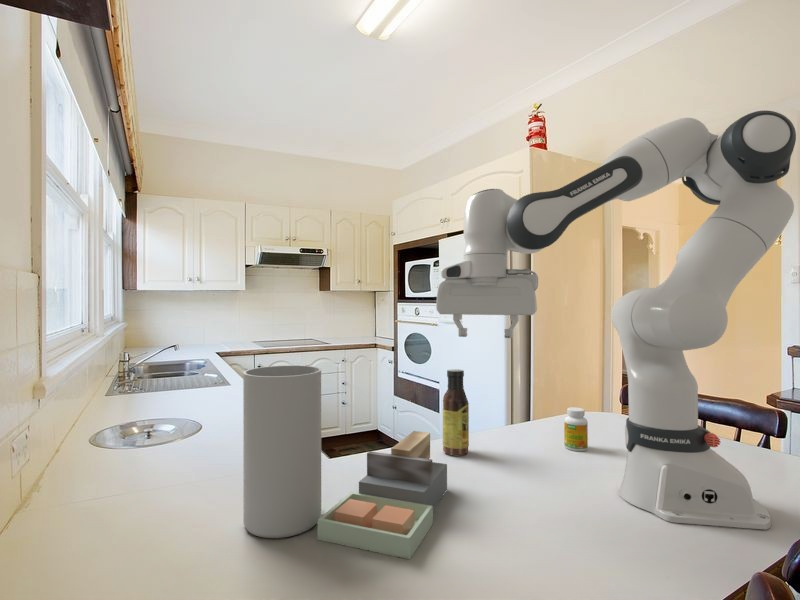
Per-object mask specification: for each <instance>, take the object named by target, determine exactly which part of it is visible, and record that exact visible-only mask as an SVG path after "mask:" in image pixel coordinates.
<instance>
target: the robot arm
mask: <svg viewBox="0 0 800 600" xmlns="http://www.w3.org/2000/svg"><path fill="white" fill-rule="evenodd" d="M796 142H797V131H796V128H795V125H794V124H793V122H792V121H791V120H790V119H789V118H788V117H787V116H786V115H784V114H782V113H780V112H777V111H773V110H758V111H753V112H750V113H747V114H746V115H744V116H742V117H740V118H738V119H737V120H734V122H732V123H731V124H730V125H729V126H728V127H727V128H726V129H725V130H724V132H723V133H722V134H721V135H720V136H719V135H718V134H713V133H711V132H710V131H709V129H708V127H707V126H706V125H705V124H704V123H703V122H702V121H700V120H698V119H696V118H693V117H682V118H679V119H675V120H673V121H670V122H667V123H665V124H661V125H660V126H657V127H655V128H653V129H651V130H649V131H647V132H645V133H643V134H641V135H639V136H637V137H635V138H633V139H632V140H630V141H629V142H627V143H625V144H624V145H622V146H621V147H619V148H618V149H617V150H616V151H614V152H613V153H612V154H611V155H610V156H608V157H607V158H606V159H604V161H603V163H601V165H600V166H598V167H597V168H596V169H593V170H592V171H590V172H588V173H586V174H584V175H582V176H581V177H579V178H577V179H575V180H574V181H571V182H570V183H567V184H566V185H564V186H561V187H560V188H558V189H553V190H547V191H538V192H533V193H528V194H526V195H523V196H522V197H519V199H517V198H514V197H512V196H510V195H509V194H507V193H506V192H504V190H502V189H500V188H489V189H487V188H486V189H483V190H481V191H478V192H476V193H473V194H471V196H470V197H469V198H468V199H467V201H466V203H465V207H464V215H463V237H464V240H465V248H464V252H463V261H460V262H458V263H455V264H452V265H449V266H446V267H444V268H442V269H441V270H440V272H441V273H440V274H441V278H442V280H441V281H440V283H439V284H438V287H437V293H436V305H435V306H436V307H435V309H436V311H437V313H439V314H440V315H452V316H453V317H452V320H453V322H454V324H455V325H456V328H457V329H458V337H460V338H465V337H466V338H467V336H468V327H464V326H463V323H462V320H463V315H464V316H465V315H466V316H467V315H468V316H469V315H470V316H471V315H472V316H473V315H474V316H476V315H477V316H478V315H479V316H480V315H483V316H510V317H509V318H510V319H509V320H510V321H511V324H510V325H509V328H504V338H505V339H513V338H514V329H515V327H516V326H517V325H518V322H519V321H520V320H519V319H520V317H519V316H534V315H535V314H536V313H537V309H538V307H537V306H538V305H537V302H538V301H537V295H536V291H537V289H538V287H539V276H538V274H537V273H536V272H535V271H533V270H531V269H530V268H523V269H521V268H519V269H517V268H511V269H510V268H509V269H508V252H509V251H510V252H515V253H520V254H525V255H532V254H535V253H536V254H537V253H538V252H540V251H542V250H543V249H546V248H547V247H549V246H552V245H553V244H555V242H557V241H558V239H560V237H562V235H563V234H564V232H565V231H566V230H567V228H569V226H570V225H571V224H572V223H573V222H574V221H576V220H577V219H579V218H581V217H582V216H585V215H586V214H589V213H590V212H591V211H593V210H596V209H598V208H600V207H601V206H602V205H603V206H604V205H605V204H607V203H609V202H611V201H614V200H619V201H622V202H632V201H635V200H638V199H641V198H643V197H646V196H648V195H651V194H653V193H655V192H657V191H659V190H661V189H663V188H664V187H667V186H668V185H670V184H672V183H674V182H675V181H677V180H679V179H681V181H682V183H683V185H684V186H685V187H687V188H688V189H690V191H691V192H692V194H693V195H694V196H695V197H696V198H697V199H699V200H700V201H702V202H703V203H706V204H708V205H713V206H717V207H716V209H715V210H714V211H713V212H712V213H711V214H710V215H709V216H708V217H707V219H705V221H704V222H703V223H702V224H701V226H699V228H698V229H697V230H696V231H694V233H693V234H692V235H691V236H690V237H689V238H688V240H686V242H685V243H684V244H683V245H682V246H681V248H680V249H679V250H678V252H677V253H676V257H675V260H676V263H675V264H674V267H672V270H671V272H670V274H669V275H668V276H667V278H666V280H664V281H663V282H662V283H661V284H659V285H658V286H656V287H648V288H646V287H645V288H644V287H643V288H642V287H641V288H637V289H634V290H632V291H630V292H627V293H625V294H624V295H622V296H621V297H619V298H618V299H617V300H616V302H615V303H614V305H613V306H612V309H611V317H610V318H611V322H612V325H613V326H614V328H615V330H616V331H617V334H618V336H619V341H620V345H621V349H622V353H623V359H624V363H625V368H626V374H627V384H628V387H627V389H628V390H627V392H628V393H627V394H628V397H627V398H628V417H627V418H626V419H625V421H626V422H625V427H624V428H625V429H624V430H625V432H624V433H625V435H624V436H625V437H624V438H625V447H626V449H627V453H626V462H625V468H624V472H623V473H624V474H623V478H622V481H621V485H620V488H619V490H618V492H619V493H618V494H619V495H620V496H621V497H622V499H623V500H625V502H627V503H629V504H631V505H633V506H635V507H637V508H640V509H643V510H644V511H647V512H650V513H652V514H654V515H655V516H657V517H659V518H660V519H663V520H664V521H665V522H670V523H678V524H691V525H701V526H702V525H703V526H716V527H729V528H740V529H743V528H744V529H751V530H752V529H753V530H754V529H755V530H768V529H769V528H771V525H772V519H771V515H770V514H769V511H768V510H767V508H765V506H764V505H762V504H761V503H760V502H759V500H758V501H757V500H756V499H755V498H753V492H752V490H751V487H750V484H749V481H748V480H747V478H746V476H745V475H744V474H743V473H742V472H741V471H740V470H739V469H738V468H736V466H734V465H733V464H731V463H730V462H729V461H728V460H726V459H725V458H724V457H722V456H721V454H719V453H717V452H716V451H715V450H713V449H712V448H718V447H719V446H721V438H719V437H718V436H717V435H716V434H715V433H713V432H711V431H710V430H708V429H706V428H705V427H703V426H701V425H699V391H698V390H699V389H698V388H699V386H698V381H697V379H696V377H695V376H694V375H693V373H692V372H691V370H690V368H689V366H688V363H687V361H686V357H685V355H684V354H685V353H684V351H691V350H698V349H699V350H700V349H703V348H707V347H710V346H713V345H714V344H715V343H717V342H718V341H720V339H721V338H722V337H723V335H724V334H725V333H726V329H727V326H728V322H729V321H728V319H729V318H728V311H727V305H728V303H729V301H730V299H731V296H732V295H733V293H734V291H735V290H736V288H737V287H738V285H739V284H740V283H741V282H742V281H743V279H744V278H745V277H746V276H747V274H749V272H750V271H751V270H752V269H753V268H754V267H755V266H756V265H757V264H758V263H759V261H760V260H762V258H763V257H764V256H765V254H766V253H767V252H768V251H769V250H770V249H771V248H772V247H773V245H774V243H775V242H776V241H777V240H778V239H779V238H780V236H781V234H782V233H783V231H784V230H785V228H786V226H787V224H788V223H789V222H790V220H791V218H792V216H793V214H794V211H795V203H794V200H793V198H792V196H791V195H790V194H789V193H788V192H787V191H786V190H785V189H783V188H781V187H780V186H779V185H778V180H779V179H782V178H784V177H785V176H786V175H787V174H788V173H789V171H790V167H791V166H790V165H791V158H792V154H793V152H794V148H795V145H796Z"/></svg>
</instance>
